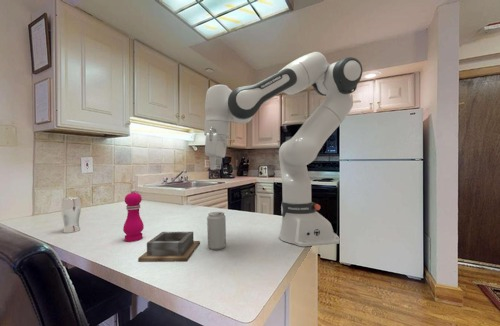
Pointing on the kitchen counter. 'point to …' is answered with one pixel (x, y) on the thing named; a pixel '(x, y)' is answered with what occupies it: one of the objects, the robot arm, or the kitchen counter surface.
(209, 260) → the kitchen counter surface
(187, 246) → the collar plate
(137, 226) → the pepper mill
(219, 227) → the beverage can
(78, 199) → the beer glass
